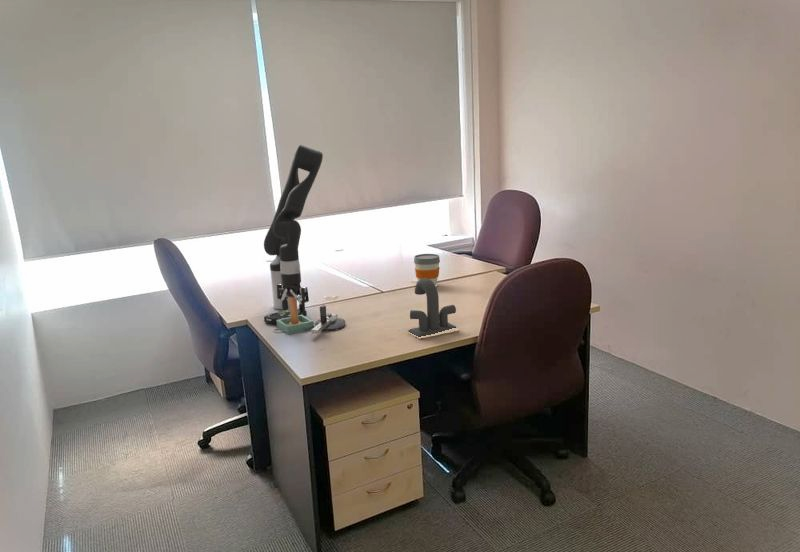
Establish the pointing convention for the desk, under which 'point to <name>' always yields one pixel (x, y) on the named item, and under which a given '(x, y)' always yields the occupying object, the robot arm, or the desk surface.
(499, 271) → the desk surface
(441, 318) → the faucet
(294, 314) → the stop peg
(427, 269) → the reusable coffee cup
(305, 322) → the tray
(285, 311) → the disk drive
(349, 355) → the desk surface
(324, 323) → the crank
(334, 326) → the crank base
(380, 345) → the desk surface
